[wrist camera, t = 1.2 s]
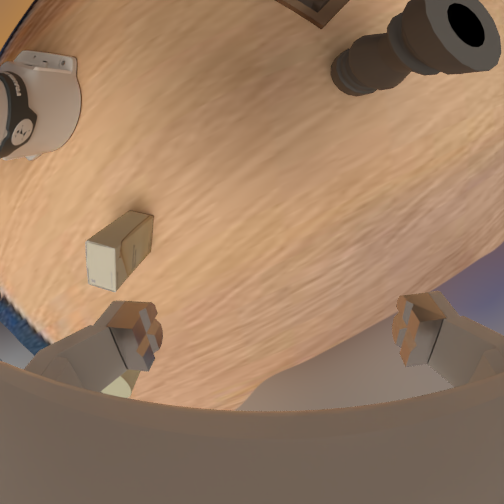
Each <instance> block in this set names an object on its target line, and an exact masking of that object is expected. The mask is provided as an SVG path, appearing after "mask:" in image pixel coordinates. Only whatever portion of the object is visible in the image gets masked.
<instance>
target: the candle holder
mask: <svg viewBox="0 0 504 504" xmlns="http://www.w3.org/2000/svg"><path fill="white" fill-rule="evenodd" d="M500 55H501V43H500V36H499V33H498V31H497V28H496V25H495V23H494V20H493V19H492V17H491V16H490V14H489V13H488V11H487V10H486V9H485V7H484V6H483V5H482V4H481V3H480V2H479V1H478V0H410V1H409V2H408V3H407V5H406V7H405V9H404V11H403V12H402V13H400V14H398V15H397V16H395V17H393V18H392V20H391V22H390V23H389V25H388V27H387V33H383V34H374V35H366V36H363V37H361V38H359V39H358V40H356V41H355V42H354V43H353V45H352V46H351V48H350V49H347V50H346V51H344V52H343V53H341V54H340V55H339V56H338V57H337V58H336V59H335V60H334V62H333V64H332V65H331V76H332V79H333V82H334V83H335V85H336V86H337V87H338V88H339V89H340V90H341V91H343V92H344V93H346V94H348V95H353V96H360V95H365V94H370V93H373V92H374V91H376V90H377V89H378V90H384V89H391V88H394V87H395V86H397V85H398V84H399V83H401V82H402V81H403V80H404V78H405V77H406V76H407V75H408V74H409V73H410V72H411V71H412V72H415V73H418V74H421V75H435V74H438V73H439V72H443V73H446V74H463V73H471V72H480V71H489V70H490V69H492V68H493V67H494V66H496V65H497V64H498V61H499V58H500Z"/></svg>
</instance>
